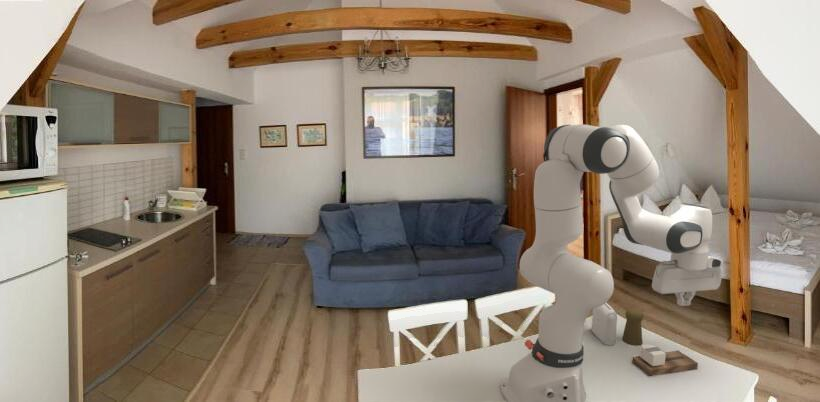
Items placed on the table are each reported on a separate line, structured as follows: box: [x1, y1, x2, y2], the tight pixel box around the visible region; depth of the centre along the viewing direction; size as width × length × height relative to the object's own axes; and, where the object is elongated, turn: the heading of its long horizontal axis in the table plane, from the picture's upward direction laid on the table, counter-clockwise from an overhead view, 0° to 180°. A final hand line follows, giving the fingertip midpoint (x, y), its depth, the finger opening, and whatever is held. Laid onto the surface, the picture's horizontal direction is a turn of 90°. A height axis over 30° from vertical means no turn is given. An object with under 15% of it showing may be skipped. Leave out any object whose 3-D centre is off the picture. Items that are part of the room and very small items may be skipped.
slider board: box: [632, 350, 699, 377], centre depth 121 cm, size 16×7×2 cm, turn 101°
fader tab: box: [639, 344, 666, 366], centre depth 119 cm, size 4×5×4 cm
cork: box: [621, 308, 644, 347], centre depth 134 cm, size 6×6×11 cm
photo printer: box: [591, 302, 618, 346], centre depth 136 cm, size 10×4×12 cm, turn 1°
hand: (683, 304), depth 118 cm, fingers closed
